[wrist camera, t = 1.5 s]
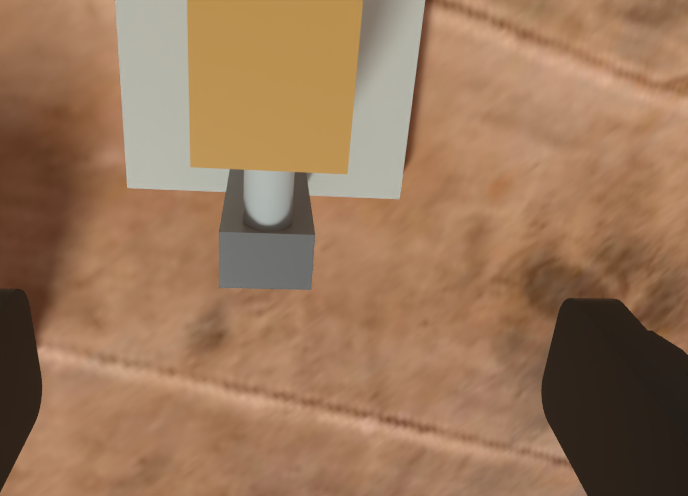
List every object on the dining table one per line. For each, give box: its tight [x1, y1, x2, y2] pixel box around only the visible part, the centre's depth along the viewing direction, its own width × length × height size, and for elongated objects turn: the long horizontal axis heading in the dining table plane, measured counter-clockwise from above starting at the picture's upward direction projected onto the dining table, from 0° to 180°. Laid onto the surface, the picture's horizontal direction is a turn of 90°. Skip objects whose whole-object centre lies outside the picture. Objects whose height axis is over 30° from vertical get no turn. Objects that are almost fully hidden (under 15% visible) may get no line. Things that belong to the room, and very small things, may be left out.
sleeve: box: [187, 0, 363, 174], centre depth 19 cm, size 4×5×4 cm
